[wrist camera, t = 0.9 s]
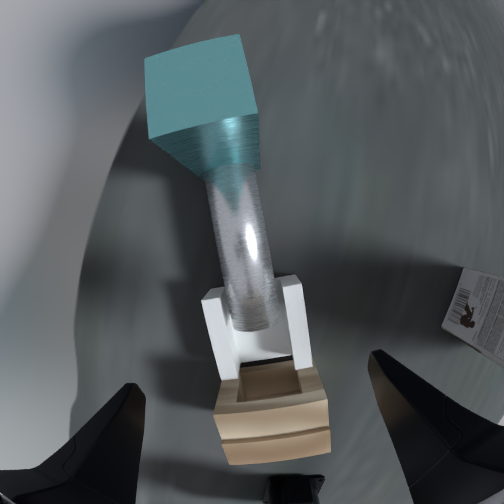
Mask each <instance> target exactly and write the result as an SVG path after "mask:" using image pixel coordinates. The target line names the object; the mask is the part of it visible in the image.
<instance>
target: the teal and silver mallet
mask: <svg viewBox="0 0 504 504" xmlns="http://www.w3.org/2000/svg"><path fill="white" fill-rule="evenodd" d="M145 88H146V89H145V90H146V108H147V122H148V134H149V140H151V141H152V142H153V143H155V144H156V145H157V146H159V147H160V148H162V149H163V150H164V151H165V152H167V153H168V154H169V155H171V156H172V157H173V158H175V159H176V160H177V161H179V162H180V163H181V164H183V165H184V166H185V167H187V168H188V169H189V170H190V171H192V172H193V173H194V174H196V175H197V176H198V177H200V178H201V179H202V180H203V181H205V183H206V189H207V195H208V201H209V207H210V212H211V218H212V223H213V229H214V234H215V240H216V245H217V250H218V255H219V260H220V266H221V271H222V276H223V281H224V286H225V290H226V295H227V300H228V305H229V310H230V314H231V319H232V324H233V328H234V329H235V330H237V331H241V332H254V331H260V330H264V329H267V328H270V327H273V326H275V325H276V324H278V323H279V322H280V321H281V314H280V308H279V302H278V296H277V291H276V285H275V279H274V273H273V267H272V262H271V256H270V250H269V245H268V239H267V234H266V228H265V223H264V217H263V212H262V206H261V201H260V196H259V190H258V185H257V180H256V175H255V170H260V151H259V124H258V110H257V106H256V102H255V97H254V93H253V88H252V84H251V80H250V76H249V71H248V67H247V63H246V59H245V55H244V51H243V47H242V43H241V39H240V35H239V34H237V35H231V36H226V37H221V38H216V39H211V40H206V41H202V42H198V43H194V44H190V45H186V46H183V47H179V48H176V49H172V50H169V51H166V52H163V53H160V54H156V55H153V56H151V57H148V58H145Z"/></svg>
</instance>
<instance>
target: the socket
mask: <svg viewBox="0 0 504 504" xmlns="http://www.w3.org/2000/svg"><path fill="white" fill-rule="evenodd" d="M311 357H312V356H311ZM312 365H313V367H308V368H303V369H298V370H295V366H294V361H293V360H289V361H283V362H278V363H271V364H265V365H258V366H251V367H243V368H240V369H239V375H238V379H229V380H222V382H221V386H220V390H219V394H218V397H217V401H216V405H215V409H214V413H213V416H214V419H215V422H216V425H217V428H218V430H219V433H220V436H221V439H222V447H223V449H224V452H225V454H226V457H227V459H228V462H229V464H230V465H241V464H256V463H266V462H275V461H283V460H290V459H297V458H303V457H308V456H313V455H319V454H323V453H328V452H331V441H330V428H329V418H328V401H327V397H326V394H325V391H324V388H323V386H322V383H321V380H320V377H319V375H318V372H317V369H316V366H315V364H314V361H313V358H312Z"/></svg>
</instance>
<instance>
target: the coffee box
mask: <svg viewBox="0 0 504 504" xmlns="http://www.w3.org/2000/svg"><path fill="white" fill-rule="evenodd" d="M441 327H442V329H443V330H445V331H447V332H448V333H450V334H451V335H453V336H455V337H456V338H458V339H459V340H461V341H463V342H464V343H466V344H467V345H469V346H470V347H472V348H473V349H475V350H476V351H478V352H479V353H481V354H482V355H484V356H485V357H487V358H488V359H490V360H492V361H493V362H495V363H496V364H498V365H499V366H501V367H502V368H503V369H504V277H501V276H498V275H494V274H490V273H486V272H482V271H478V270H473V269H469V268H463V271H462V274H461V277H460V280H459V283H458V286H457V288H456V291H455V294H454V296H453V299H452V302H451V304H450V307H449V309H448V311H447V314H446V316H445V319H444V321H443V323H442V325H441Z"/></svg>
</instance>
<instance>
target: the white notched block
mask: <svg viewBox="0 0 504 504" xmlns="http://www.w3.org/2000/svg"><path fill="white" fill-rule="evenodd" d="M274 279H275V285H276V291H277V296H278V302H279V308H280V314H281V321H280V322H279V323H278V324H276V325H275V326H273V327H270V328H267V329H264V330H260V331H254V332H241V331H237V330H235V329H234V328H233V324H232V319H231V314H230V310H229V305H228V300H227V295H226V290H225V287H218V288H212V289H210V290H209V291H208V293H207V294H206V295H205V296H204V298H203V299H202V300H201V302H202V307H203V311H204V315H205V319H206V324H207V328H208V332H209V336H210V340H211V344H212V348H213V352H214V355H215V359H216V363H217V367H218V370H219V374H220V378H221V380H229V379H238V375H239V369H240V363H243V362H250V361H257V360H264V359H271V358H277V357H283V356H288V355H292V357H293V361H294V366H295V370H298V369H303V368H308V367H313V365H312V357H311V348H310V340H309V333H308V325H307V317H306V310H305V303H304V296H303V289H302V283H301V282H300V281H299V279H298V278H297V276H296V275H295V274H294V275H288V276H283V277H277V278H274Z"/></svg>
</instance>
